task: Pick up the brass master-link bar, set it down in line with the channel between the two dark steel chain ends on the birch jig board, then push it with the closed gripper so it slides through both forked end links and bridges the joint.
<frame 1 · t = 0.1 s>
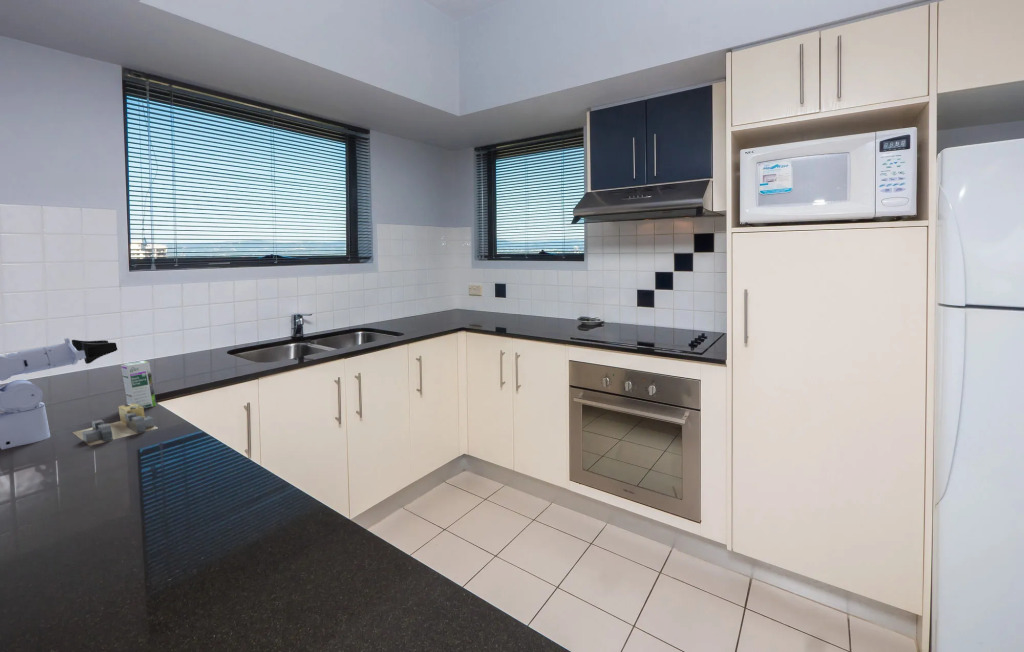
hand: (112, 345, 136), 22 cm above the countertop, tool horizontal, fingers open, 7 cm apart
syrup box: (142, 409, 151), on the countertop
jig board: (115, 433, 129), on the countertop
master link: (133, 421, 135), point 1 cm above the countertop, touching jig board
chain ends: (120, 433, 126), resting on jig board
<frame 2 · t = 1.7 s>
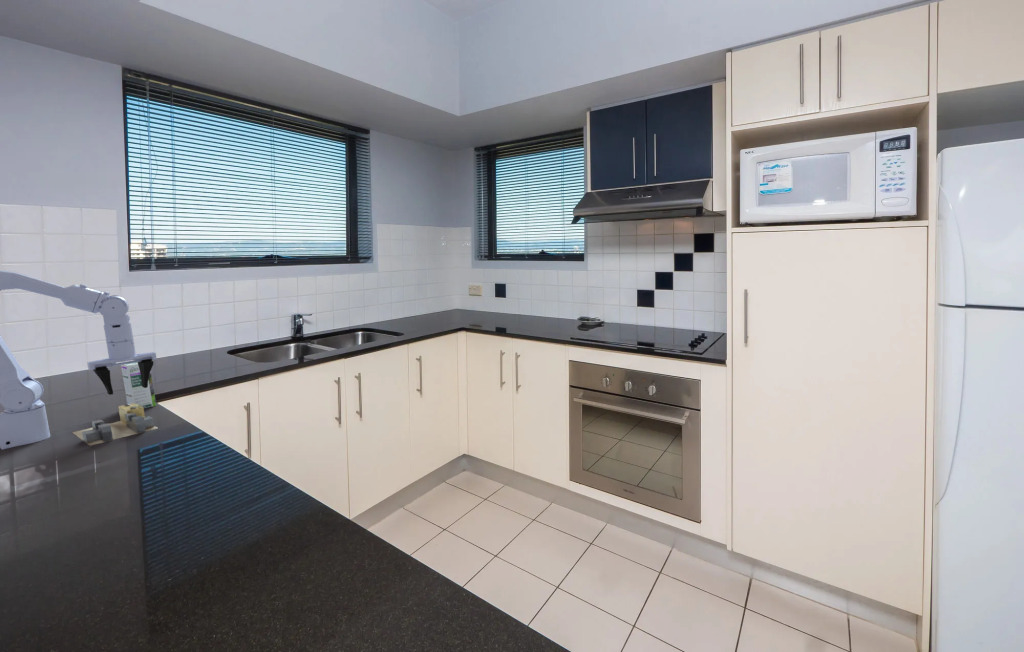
hand: (128, 390, 134), 10 cm above the countertop, tool pointing down, fingers open, 7 cm apart
nothing on the countertop moved.
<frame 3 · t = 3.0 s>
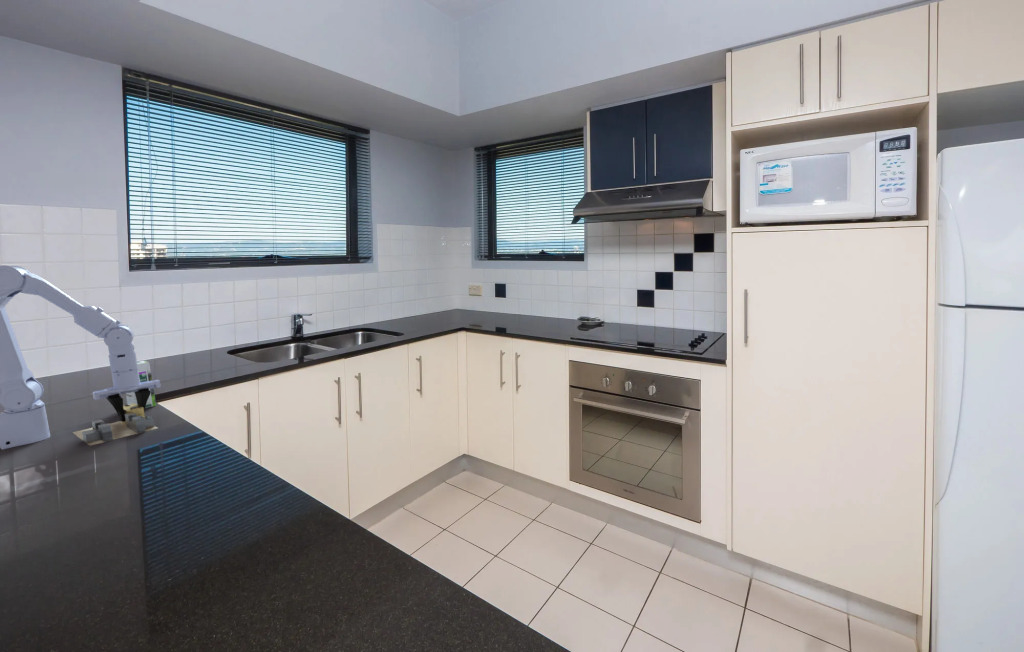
hand: (132, 418, 135), 2 cm above the countertop, tool pointing down, fingers closed on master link, 4 cm apart
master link: (133, 421, 135), point 1 cm above the countertop, touching gripper, jig board
everything else where it was.
when the fingers open (3 cm above the countertop, at t = 5.9 s): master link stays where it is, resting on jig board.
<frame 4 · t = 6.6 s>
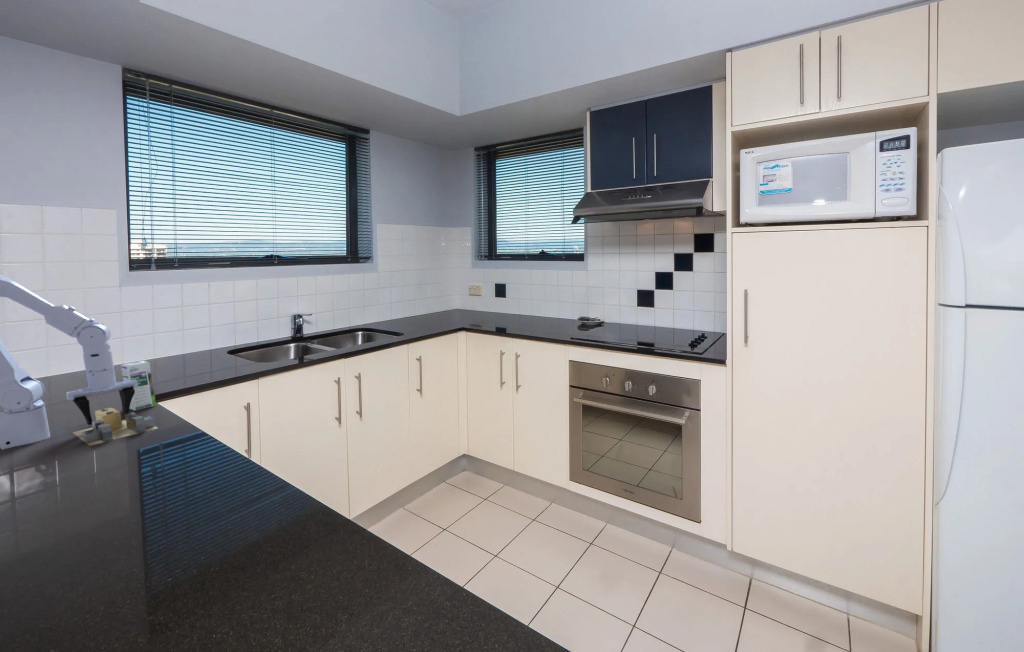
hand: (108, 419, 132), 3 cm above the countertop, tool pointing down, fingers open, 7 cm apart
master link: (109, 426, 132), point 1 cm above the countertop, touching jig board
everything else where it was.
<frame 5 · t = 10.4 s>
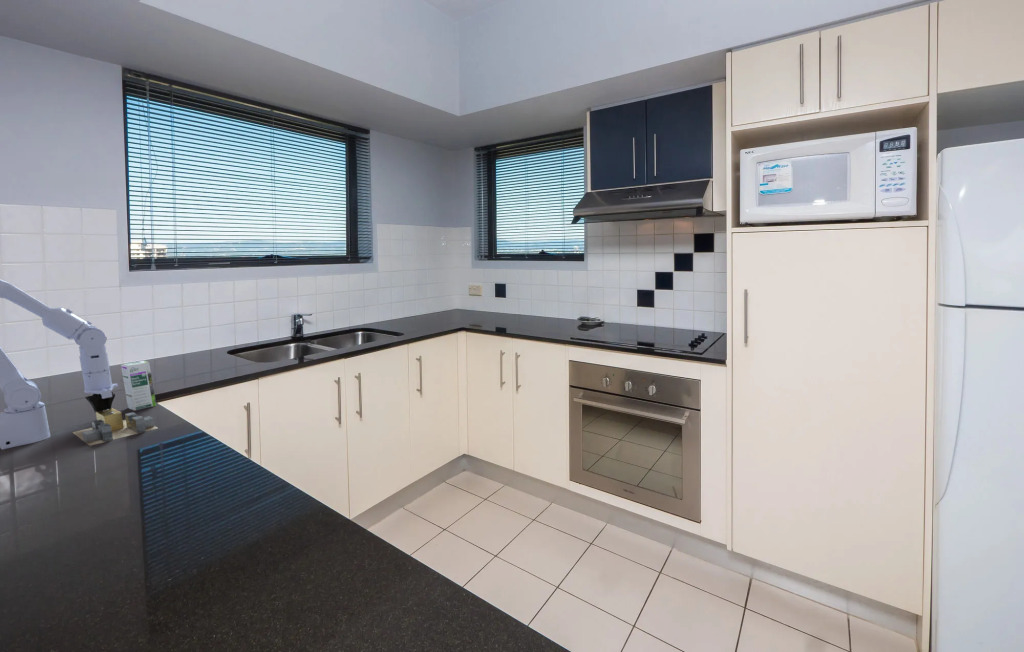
hand: (104, 420, 135), 2 cm above the countertop, tool pointing down, fingers closed
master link: (110, 427, 131), point 1 cm above the countertop, touching gripper, jig board
everything else where it was.
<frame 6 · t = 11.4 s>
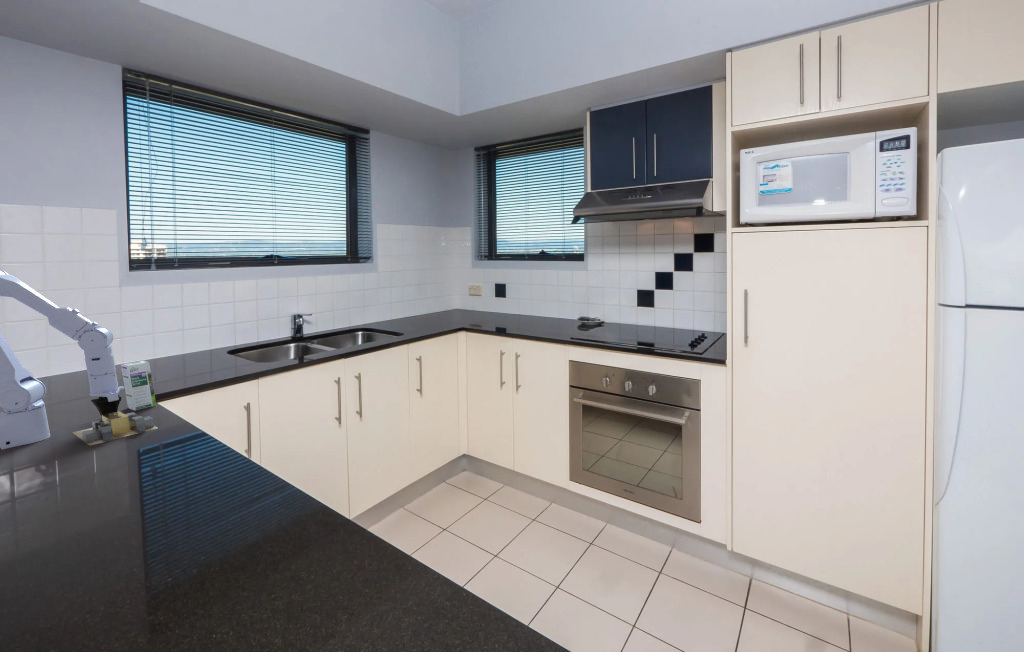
hand: (110, 423, 131), 2 cm above the countertop, tool pointing down, fingers closed
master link: (117, 431, 128), point 1 cm above the countertop, touching gripper
everything else where it was.
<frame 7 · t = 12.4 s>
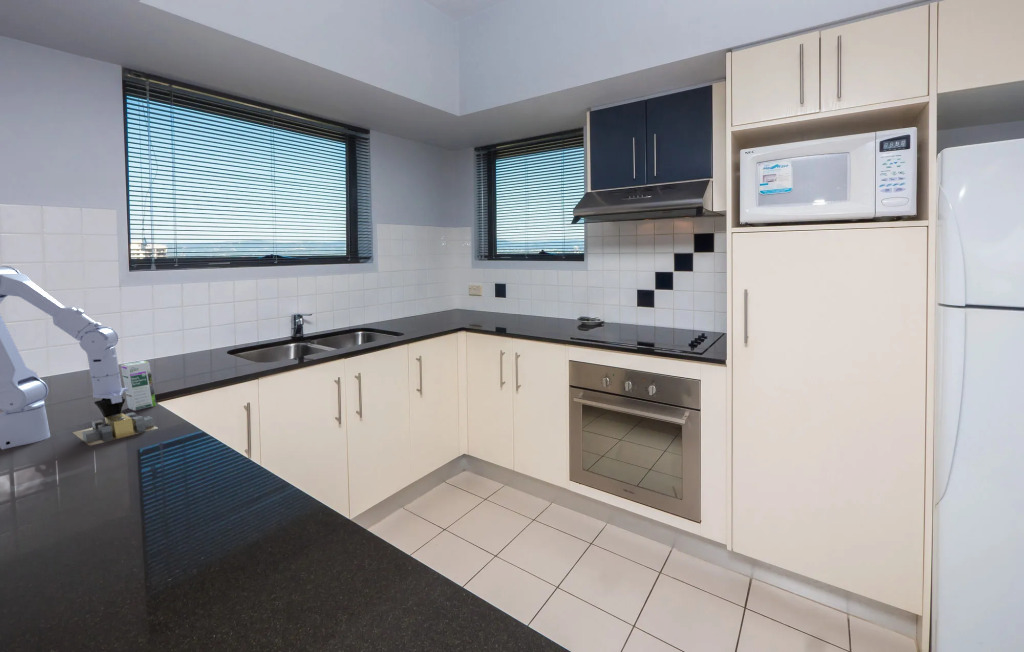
hand: (113, 425, 129), 2 cm above the countertop, tool pointing down, fingers closed
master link: (120, 433, 126), point 1 cm above the countertop, touching gripper, jig board
everything else where it was.
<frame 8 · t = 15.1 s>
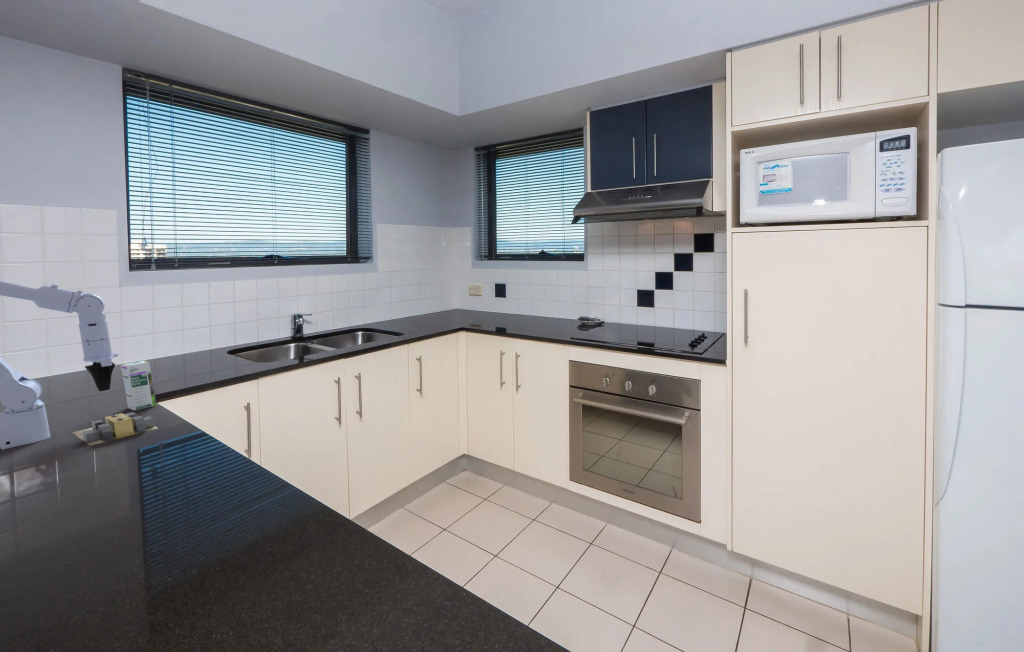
hand: (104, 390, 132), 10 cm above the countertop, tool pointing down, fingers closed
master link: (120, 433, 126), point 1 cm above the countertop, touching jig board
everything else where it was.
at the end: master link 0.5 cm from the target spot, point 0.8 cm above the countertop; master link tilted 0°; the gripper is holding nothing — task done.
